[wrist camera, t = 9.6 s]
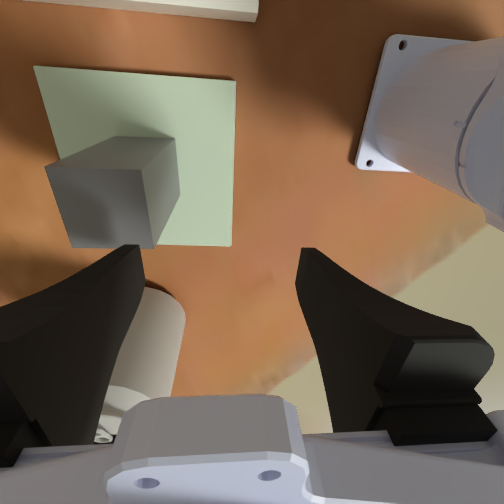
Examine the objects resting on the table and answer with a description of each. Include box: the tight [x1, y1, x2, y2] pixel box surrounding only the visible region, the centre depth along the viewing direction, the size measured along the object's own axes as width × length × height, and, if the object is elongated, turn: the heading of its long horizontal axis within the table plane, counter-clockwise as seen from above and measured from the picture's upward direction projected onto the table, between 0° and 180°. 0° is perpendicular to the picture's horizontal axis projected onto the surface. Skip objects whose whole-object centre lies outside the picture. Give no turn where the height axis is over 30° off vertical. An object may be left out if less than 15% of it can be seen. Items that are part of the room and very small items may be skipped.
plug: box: [45, 136, 180, 249], centre depth 16 cm, size 4×4×8 cm
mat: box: [33, 66, 236, 246], centre depth 20 cm, size 12×12×1 cm
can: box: [93, 287, 186, 445], centre depth 22 cm, size 8×8×12 cm
